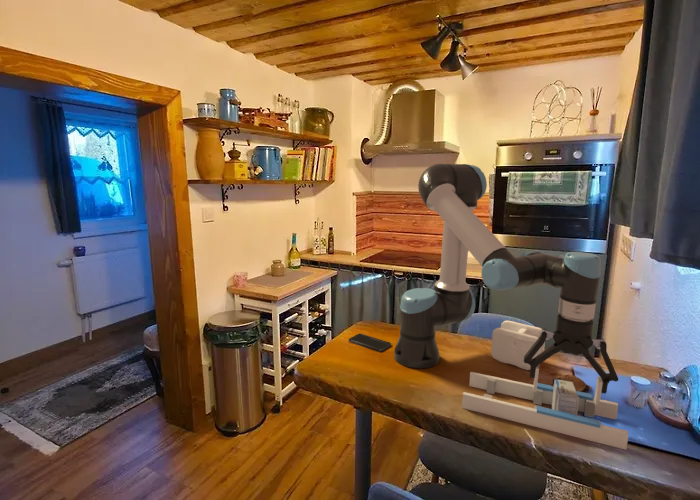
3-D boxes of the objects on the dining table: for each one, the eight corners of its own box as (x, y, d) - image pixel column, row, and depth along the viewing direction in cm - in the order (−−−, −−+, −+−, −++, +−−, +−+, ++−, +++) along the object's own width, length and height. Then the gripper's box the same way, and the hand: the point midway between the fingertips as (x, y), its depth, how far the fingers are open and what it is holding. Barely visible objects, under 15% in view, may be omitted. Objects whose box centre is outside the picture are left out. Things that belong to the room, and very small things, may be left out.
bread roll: (566, 378, 118) (567, 366, 117) (594, 390, 110) (596, 379, 110) (545, 386, 112) (546, 375, 112) (573, 400, 105) (575, 388, 104)
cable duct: (461, 408, 100) (462, 392, 99) (470, 383, 113) (471, 368, 112) (626, 451, 85) (629, 432, 84) (615, 416, 97) (617, 399, 96)
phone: (380, 350, 133) (347, 339, 142) (380, 353, 133) (347, 342, 142) (392, 343, 139) (360, 332, 148) (392, 346, 139) (359, 335, 148)
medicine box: (575, 430, 92) (579, 397, 90) (555, 426, 93) (558, 393, 92) (569, 412, 99) (573, 381, 98) (550, 408, 101) (554, 378, 99)
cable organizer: (545, 362, 126) (549, 329, 124) (536, 374, 118) (540, 339, 116) (500, 349, 136) (503, 318, 134) (489, 359, 128) (491, 327, 126)
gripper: (518, 312, 93) (510, 391, 97) (642, 331, 83) (627, 418, 87) (519, 303, 100) (512, 377, 104) (634, 320, 89) (621, 401, 93)
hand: (564, 396), depth 95 cm, fingers open, 13 cm apart
